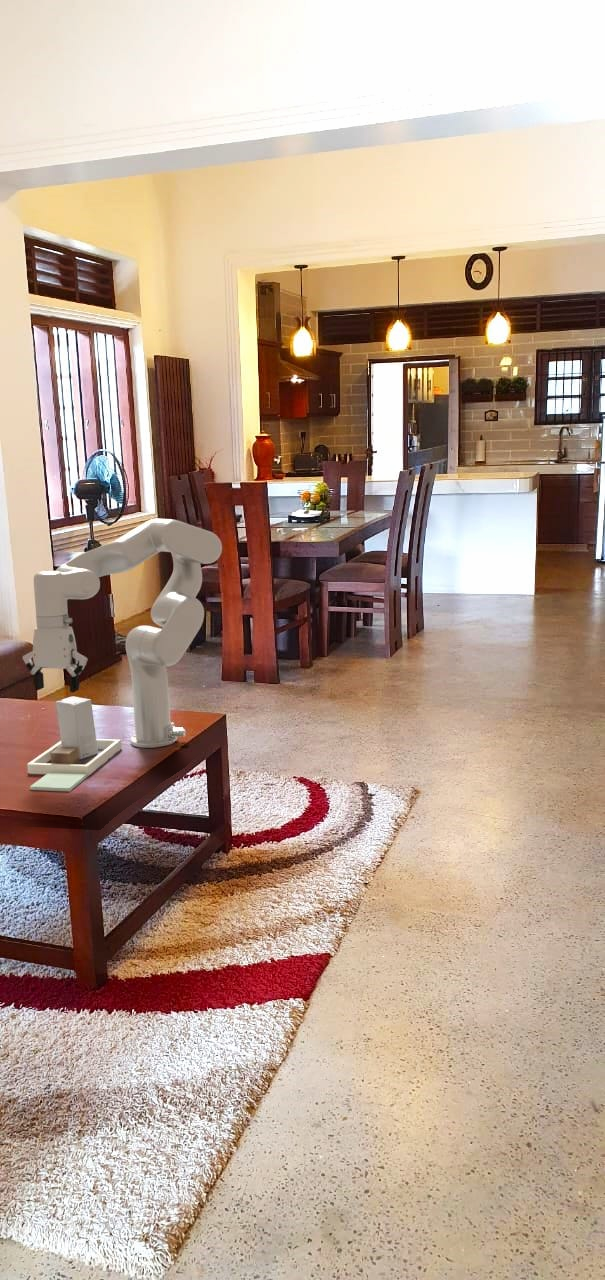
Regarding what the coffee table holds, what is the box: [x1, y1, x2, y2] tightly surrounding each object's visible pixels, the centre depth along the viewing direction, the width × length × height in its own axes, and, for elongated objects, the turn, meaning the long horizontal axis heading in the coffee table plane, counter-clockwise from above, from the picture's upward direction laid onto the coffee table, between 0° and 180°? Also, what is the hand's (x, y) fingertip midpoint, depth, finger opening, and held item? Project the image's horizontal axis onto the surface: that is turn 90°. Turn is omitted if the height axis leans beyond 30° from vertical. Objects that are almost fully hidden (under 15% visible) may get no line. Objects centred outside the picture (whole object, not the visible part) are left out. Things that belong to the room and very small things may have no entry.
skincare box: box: [55, 695, 99, 760], centre depth 248 cm, size 8×6×15 cm
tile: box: [29, 772, 89, 792], centre depth 229 cm, size 10×10×1 cm
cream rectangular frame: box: [26, 738, 122, 777], centre depth 245 cm, size 16×21×2 cm
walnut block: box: [50, 747, 81, 765], centre depth 239 cm, size 5×5×5 cm
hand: (56, 690), depth 236 cm, fingers open, 9 cm apart
